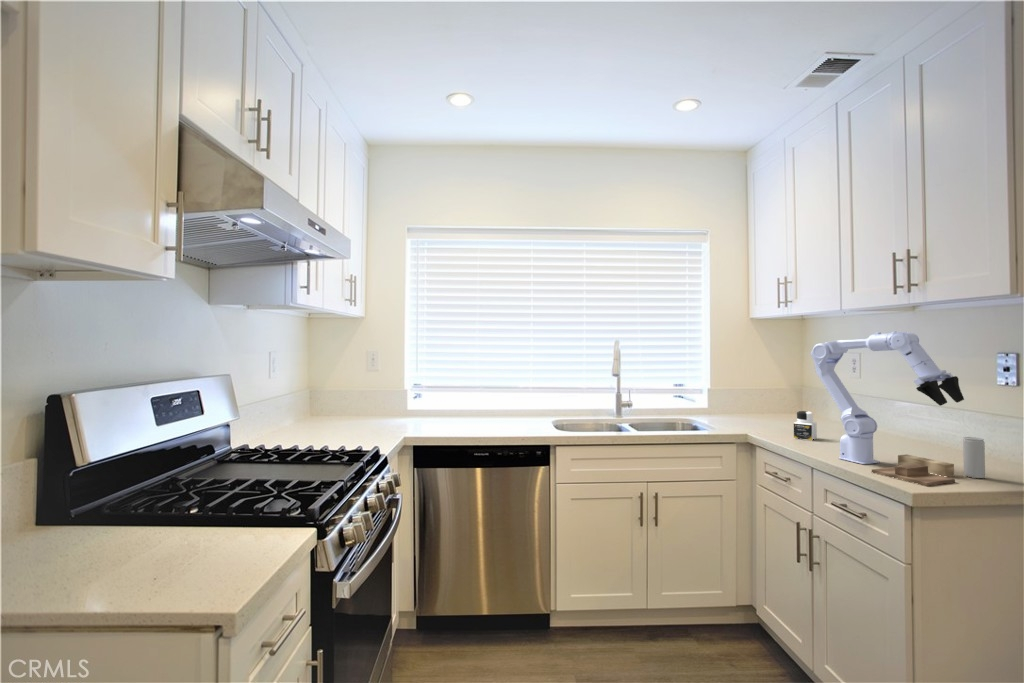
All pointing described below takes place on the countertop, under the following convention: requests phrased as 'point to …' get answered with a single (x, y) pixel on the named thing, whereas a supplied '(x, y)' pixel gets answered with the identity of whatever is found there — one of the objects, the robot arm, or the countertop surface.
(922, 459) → the beam
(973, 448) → the beverage can
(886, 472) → the fulcrum
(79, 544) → the countertop surface
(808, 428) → the medicine bottle
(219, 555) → the countertop surface
